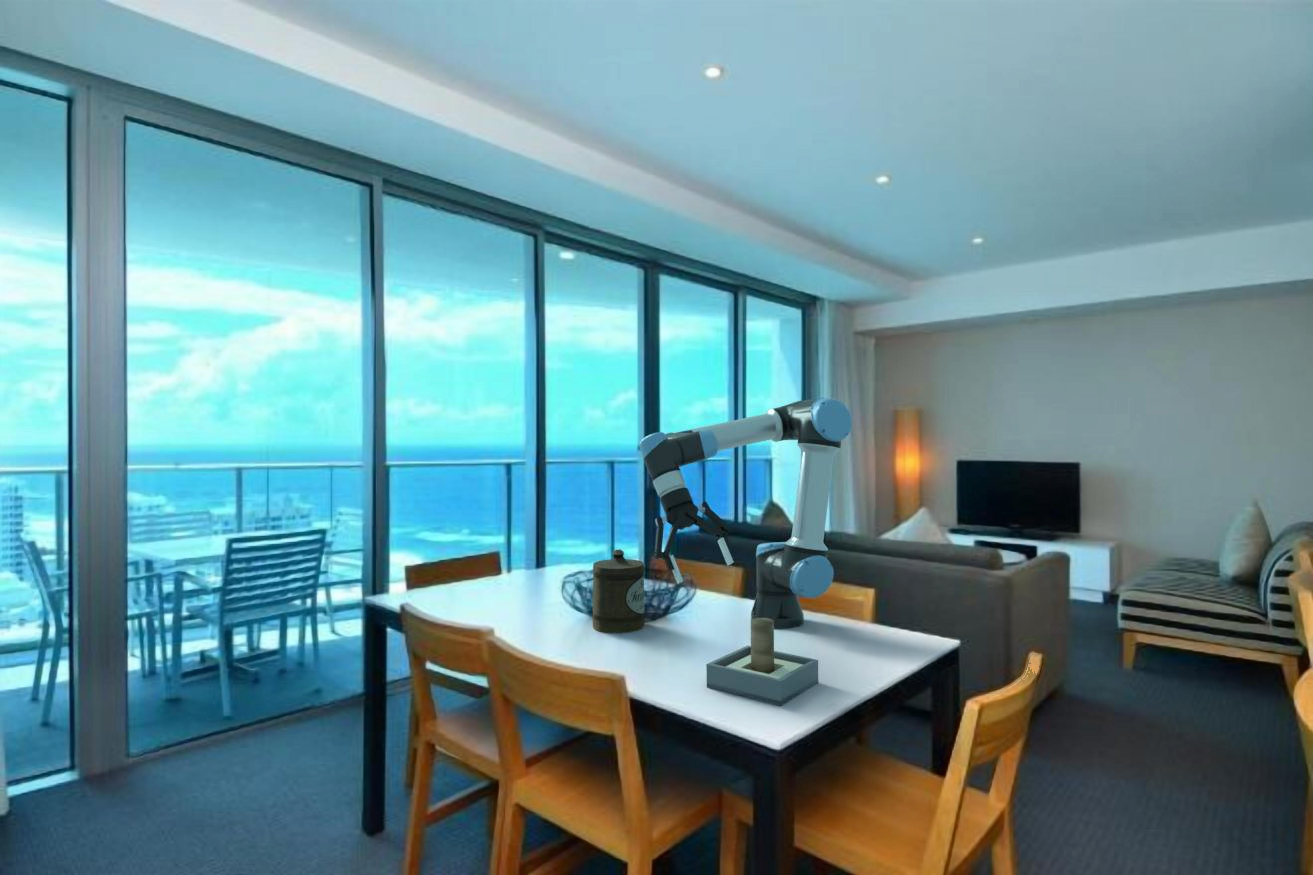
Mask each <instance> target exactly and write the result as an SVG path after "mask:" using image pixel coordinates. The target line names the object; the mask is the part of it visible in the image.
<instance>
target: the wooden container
mask: <svg viewBox="0 0 1313 875" xmlns="http://www.w3.org/2000/svg"><path fill="white" fill-rule="evenodd" d="M611 554H612V556H613V557H612V558H610V559H601V560H598V561H595V562H593V565H592V627H593V629H594V630H596V631H597V632H601V633H605V634H606V633H608V634H623V633H624V634H625V633H633V632H637V631H639V630H641V629H643V628H644V627H645V575H644V574H645V571H644V570H645V565H644V562H643V561H641V560H637V559H631V558H625V556H624V555H625V551H623V550H622V549H615V550H613V551H612V553H611Z"/></svg>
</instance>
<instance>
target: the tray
mask: <svg viewBox="0 0 1313 875" xmlns="http://www.w3.org/2000/svg"><path fill="white" fill-rule="evenodd" d="M705 666H706V688H708V689H713V690H717V691H719V692H720V691H721V692H724V693H727V694H733V695H736V696H739V697H744V698H748V699H752V700H755V701H759V702H764V703H767V704H769V705H770V704H771V705H775V706H778V707H782V706H783V705H785V704H786V703H788V702H789V701H791V700H793V699H795V698H796V697H798V696H800V695H801V694H803V693H804V692H806V691H808V690H809V689H810V688H812V687H814V686H815V685H818V683H819V659H815V658H810V657H807V656H801V655H795V654H792V653H786V652H781V651H775V650H774V672H772V673H770V674H766V673H762V672H757V671H753V670H751V645H746V646H743V647H741V648H739V649H736V650H735V651H731V653H728V654H725V655H723V656H721V657H719V658H716V659H715V660H713V661H710V662H708V663H706V665H705Z"/></svg>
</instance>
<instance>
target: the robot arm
mask: <svg viewBox="0 0 1313 875" xmlns="http://www.w3.org/2000/svg"><path fill="white" fill-rule="evenodd" d="M852 419H853V418H852V415H851V411H850V410H849V409H848V408H847V406H846V405H845V404H844V403H843V402H842V401H841V400H838V399H836V398H828V397H821V398H813V399H801V400H798V401H797V400H796V401H794V402H791V403H788V404H784V405H782V406H779V407H773V408H770V409H768V410H766V411H765V412H764V413H763V414H759V415H754V416H749V417H745V418H740V419H734V420H729V421H725V422H720V423H716V424H715V423H714V424H711V425H706V426H705V425H704V426H700V427H696V428H691V429H686V430H682V431H678V432H677V431H676V432H667V433H664V432H662V431H661V432H660V431H659V432H654V433H651V434H648V435H647V436H645V437H643V438H642V439H641V440H640V442H639V446H638V447H639V450H640V454H641V456H642V460H643V461H644V464H645V466H646V469H647V470H648V473H649V475H650V478H651V481H652V484H653V486H654V489H655V491H656V493H657V494H656V495H657V497H659V498H660V499H659V501H660V503H661V506H662V508H663V511H664V514H665V516H656V518H655V519H654V523H655V527H656V534H655V545H654V558H655V559H657V560H658V559H661V560H663V561H664V564H665V566H666V569H667V571H668V572H671V571H672V573H673V576H674V578H675V581H676V584H677V585H679V584H681V583H683V581H684V579H683V577H682V574H681V571H680V569H679V567H678V565H677V562H676V558H675V555H674V554H671V551H672V549H673V548H672V547H673V544H674V542H675V538H676V536H677V533H678V530H680V531H681V530H684V529H686V528H691V527H692V526H693V525H694V526H697V527H699V528H701V529H703V530H705V531H706V532H707V533H710V534H711V535H713V536H715V537H716V538H718V540H717V543H718V545H719V548H720V550H721V553H722V556H723V558H724V561H725V563H726V565H727V566H730V565H732V564H733V563H734V559H733V557H732V554H731V553H730V550H731V549H732V546H731V544H730V541H729V539H728V535H729V534H730V533H731V532H732V530H733V529H732V527H731V526H730V525H728V524H727V523H726V521H724V520H723V519H722V518H721V517H720V516H719V515H718V514H716V513H715V512H714V510H713V509H711V507H710V506H709V504H708V502H707V501H703V502H702V503H701V504H698V505H695V503H694V501H693V497H692V495H691V492H690V490H689V488H687V482H686V481H685V479H684V476H683V474H682V471H681V467H683V466H686V465H690V464H694V463H698V462H701V461H707V460H708V459H710V458H714V457H715V456H716V455H717V453H718V452H720V451H724V450H725V451H726V450H729V449H733V448H738V447H743V446H748V445H752V444H756V443H757V444H758V443H761V442H766V441H771V442H775V443H777V442H781V441H797V446H798V447H799V449H800V450H801V458H800V459H801V460H800V467H799V474H798V482H797V483H798V484H797V490H796V491H797V492H796V498H795V506H794V515H793V524H792V532H791V537H790V538H789V539H788V540H786V541H781V542H778V541H777V542H764V543H759V544H758V545H757V547H756V551H755V559H756V563H755V564H756V595H755V596H756V597H755V599H754V602H753V605H752V609H751V613H750V620H751V619H754V618H769V619H772V620H774V629H789V628H791V629H792V628H796V627H800V626H802V625H803V624H804V623H805V622H804V621H805V620H804V619H805V616H804V613H803V609H802V607H801V606H802V605H801V603H800V598H799V597H801V598H802V597H803V598H807V599H815V598H818V597H821V596H822V595H823V594H824V593H826V592H827V591H828V590H829V589H830V587H831V585H832V583H833V581H834V574H835V573H834V566H833V565H832V563H831V562H830V560H828V554H829V552H828V551H829V549H828V547H827V546H826V544H825V543H824V539H825V529H826V521H827V514H828V506H829V498H830V489H831V482H832V481H831V480H832V475H833V474H832V472H833V466H834V465H833V464H834V457H835V455H836V454H837V453H838V452H839V451H840V450H841V444H842V441H843V440H845V439H846V438H847V436H849V434H850V433H851V430H852V427H853V426H852V424H853V420H852ZM699 512H700V513H701V514H704V516H705V517H706V518H708V519H709V521H711V523H710V522H708V521H707V520H705V519H704V518H703V517H701V516H700V515H698V513H699ZM666 522H667V523H668V524H670V525H671V528H670V531H669V535H668V538H667V540H666V543H665V547H664V550H663V538H664V526H665V524H666ZM712 523H713V524H712ZM670 554H671V555H670Z"/></svg>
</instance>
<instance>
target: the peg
mask: <svg viewBox="0 0 1313 875" xmlns="http://www.w3.org/2000/svg"><path fill="white" fill-rule="evenodd" d="M750 646H751V670H753V671H757V672H762V673H766V674H770V673H772V672H774V651H775V628H774V620H772V619H769V618H754V619H751V618H750Z"/></svg>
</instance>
